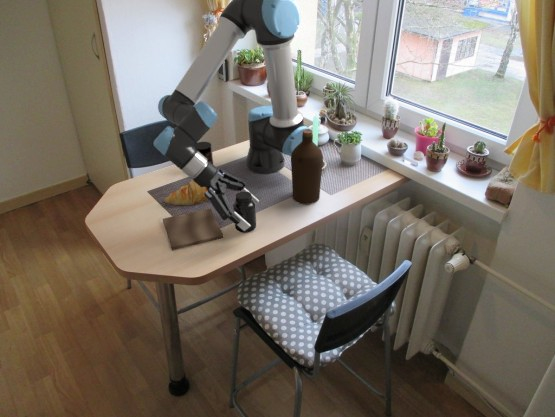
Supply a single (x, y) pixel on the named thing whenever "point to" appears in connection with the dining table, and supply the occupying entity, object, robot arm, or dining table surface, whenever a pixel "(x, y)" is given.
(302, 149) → the olive oil
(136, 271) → the dining table surface
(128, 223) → the dining table surface
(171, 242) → the brown cloth napkin
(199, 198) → the croissant
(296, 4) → the robot arm
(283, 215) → the dining table surface
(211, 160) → the supplement container
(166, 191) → the dining table surface
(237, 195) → the supplement bottle
